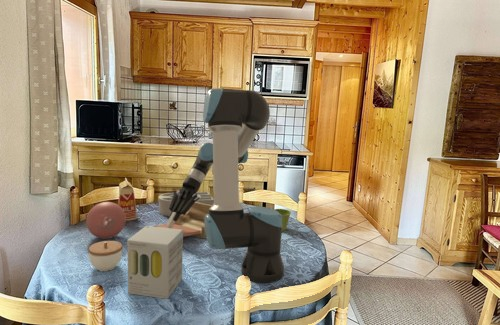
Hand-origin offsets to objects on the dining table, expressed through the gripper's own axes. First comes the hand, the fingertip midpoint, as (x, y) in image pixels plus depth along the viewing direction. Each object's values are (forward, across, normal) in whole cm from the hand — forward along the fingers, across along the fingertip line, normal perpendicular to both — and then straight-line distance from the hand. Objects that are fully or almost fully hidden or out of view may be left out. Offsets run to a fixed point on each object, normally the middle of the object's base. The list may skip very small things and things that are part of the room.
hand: (168, 226), depth 145 cm
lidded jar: (+26, +2, +16) cm, 30 cm away
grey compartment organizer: (-21, +20, -31) cm, 43 cm away
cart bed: (-9, 0, -18) cm, 21 cm away
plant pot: (-25, -33, -35) cm, 54 cm away
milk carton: (-3, +37, -13) cm, 39 cm away
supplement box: (+25, -20, +16) cm, 36 cm away
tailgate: (-5, 0, -11) cm, 12 cm away
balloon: (+14, +23, +4) cm, 27 cm away
